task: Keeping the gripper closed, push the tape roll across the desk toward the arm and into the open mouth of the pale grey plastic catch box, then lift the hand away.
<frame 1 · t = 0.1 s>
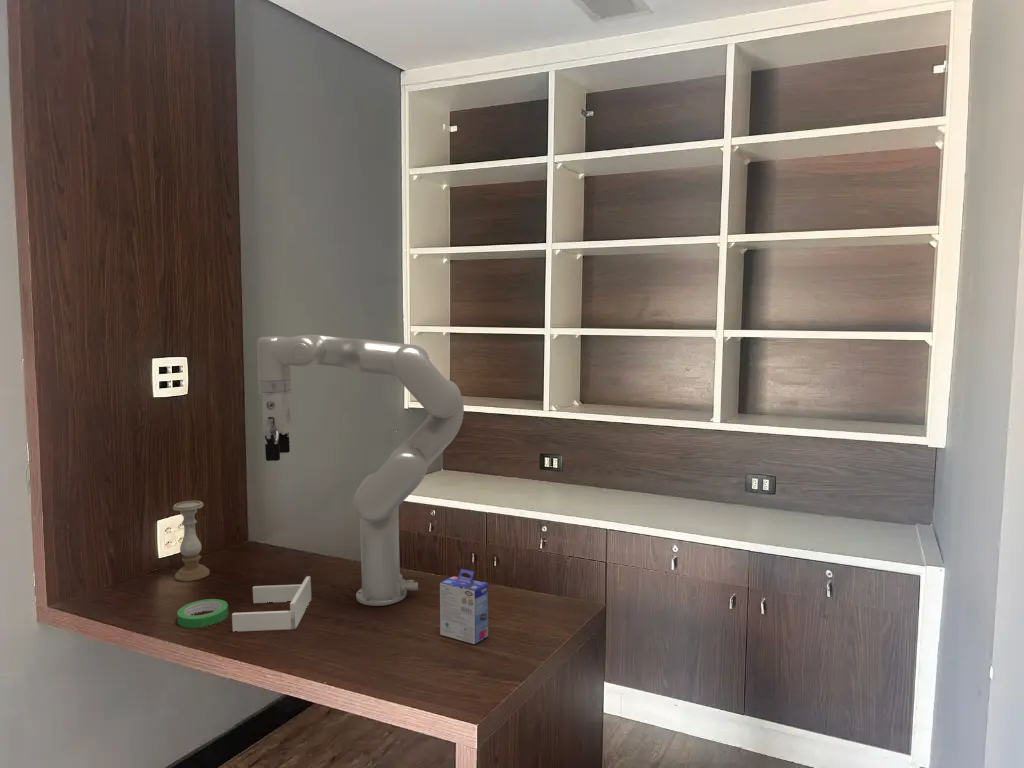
hand: (278, 456, 176), 37 cm above the table, tool pointing down, fingers open, 9 cm apart
tape roll: (203, 619, 170), on the table
ink cartridge box: (464, 636, 159), on the table
catch box: (272, 614, 171), on the table
candle holder: (192, 576, 197), on the table
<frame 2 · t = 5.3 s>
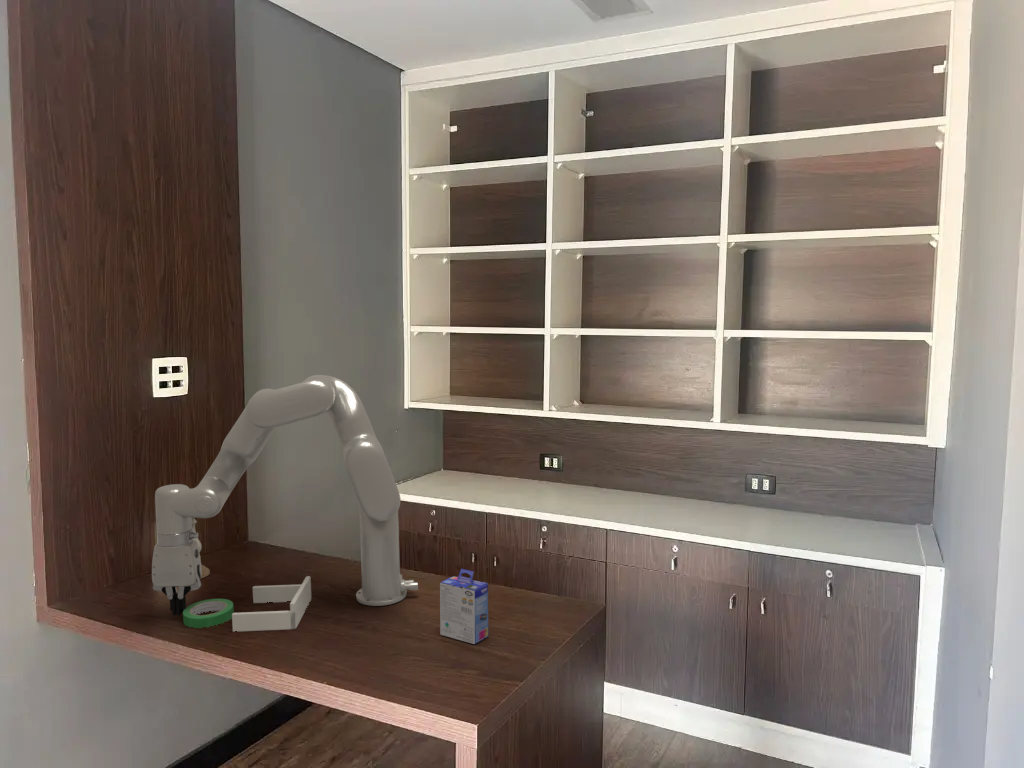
hand: (178, 613, 169), 1 cm above the table, tool pointing down, fingers closed
tape roll: (209, 619, 170), on the table
everything else where it was.
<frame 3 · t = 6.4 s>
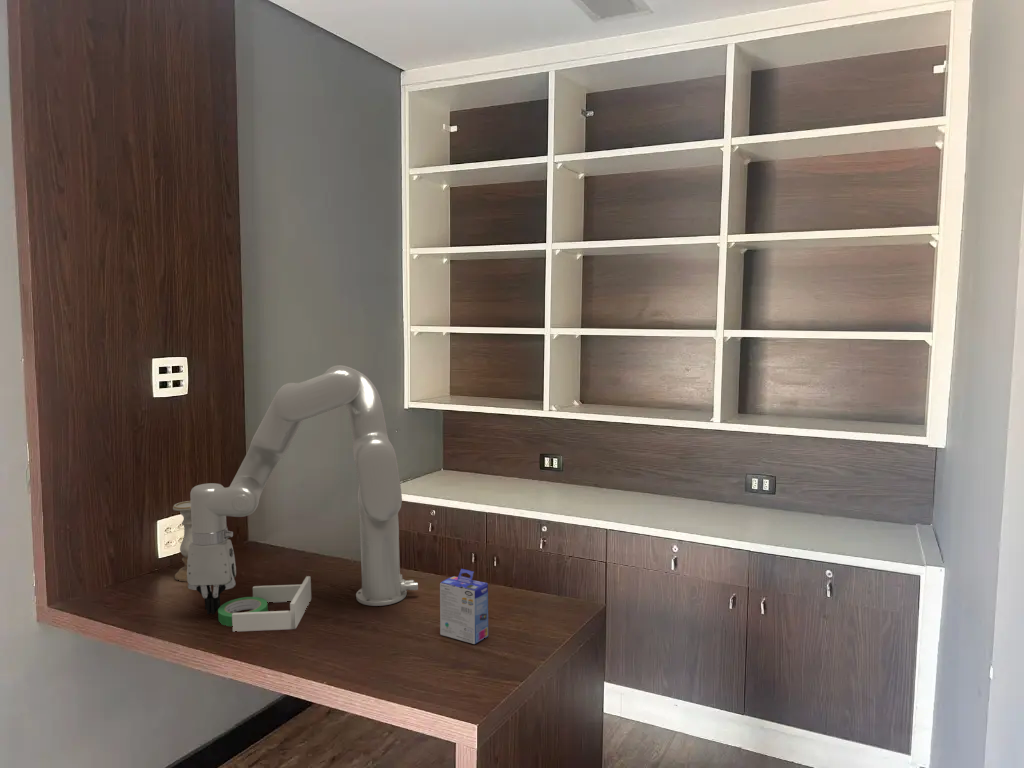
hand: (212, 611, 170), 1 cm above the table, tool pointing down, fingers closed
tape roll: (243, 617, 170), on the table
everything else where it was.
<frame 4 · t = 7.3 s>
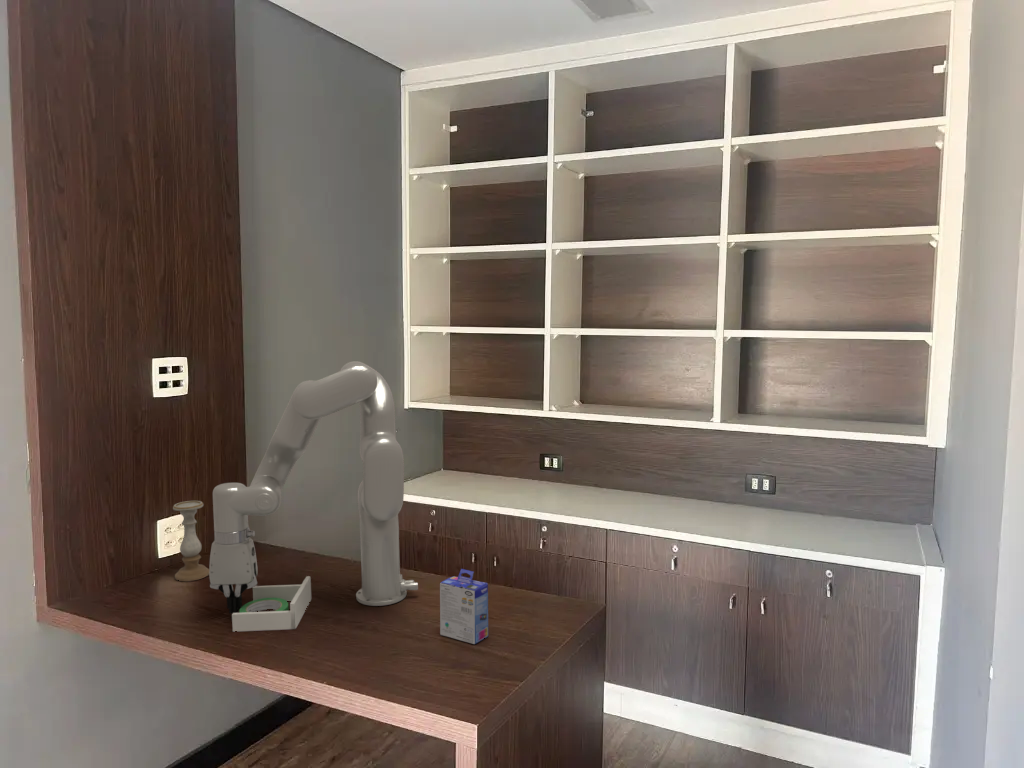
hand: (234, 610, 170), 1 cm above the table, tool pointing down, fingers closed
tape roll: (264, 618, 170), on the table
everything else where it was.
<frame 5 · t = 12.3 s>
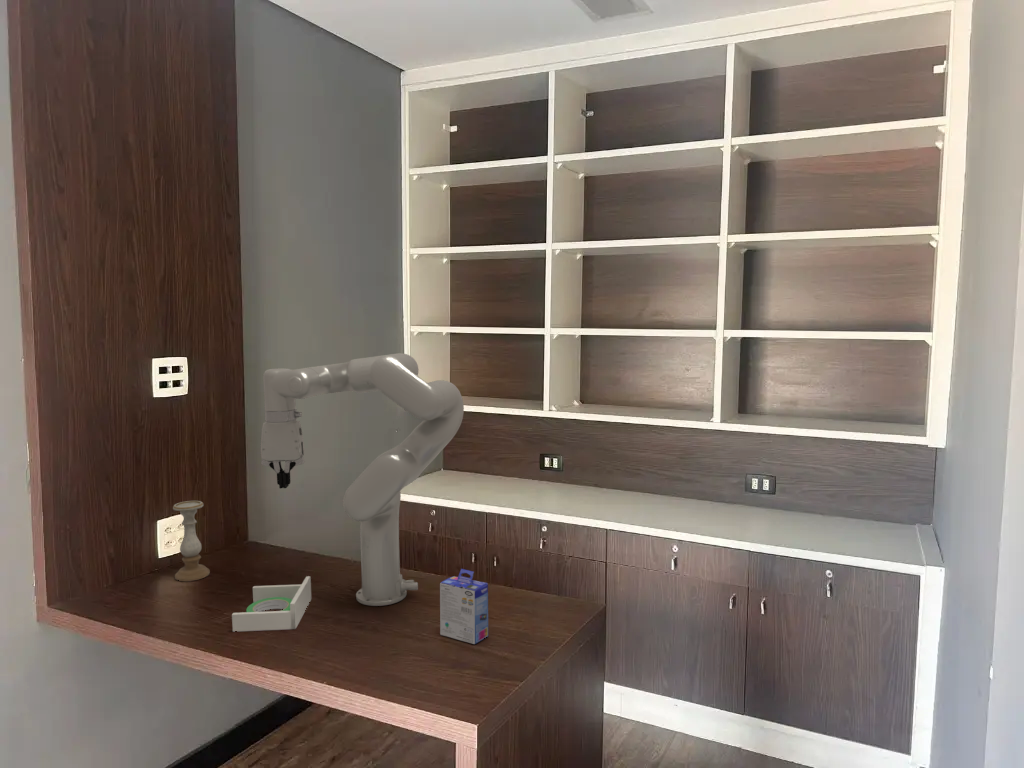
hand: (284, 487, 185), 27 cm above the table, tool pointing down, fingers closed
tape roll: (271, 617, 171), on the table
everything else where it was.
at the end: tape roll inside the target area on the catch box (0.8 cm from its centre), point -0.6 cm above the catch box's base; tape roll moved 16.0 cm from its start; tape roll tilted 0° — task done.
